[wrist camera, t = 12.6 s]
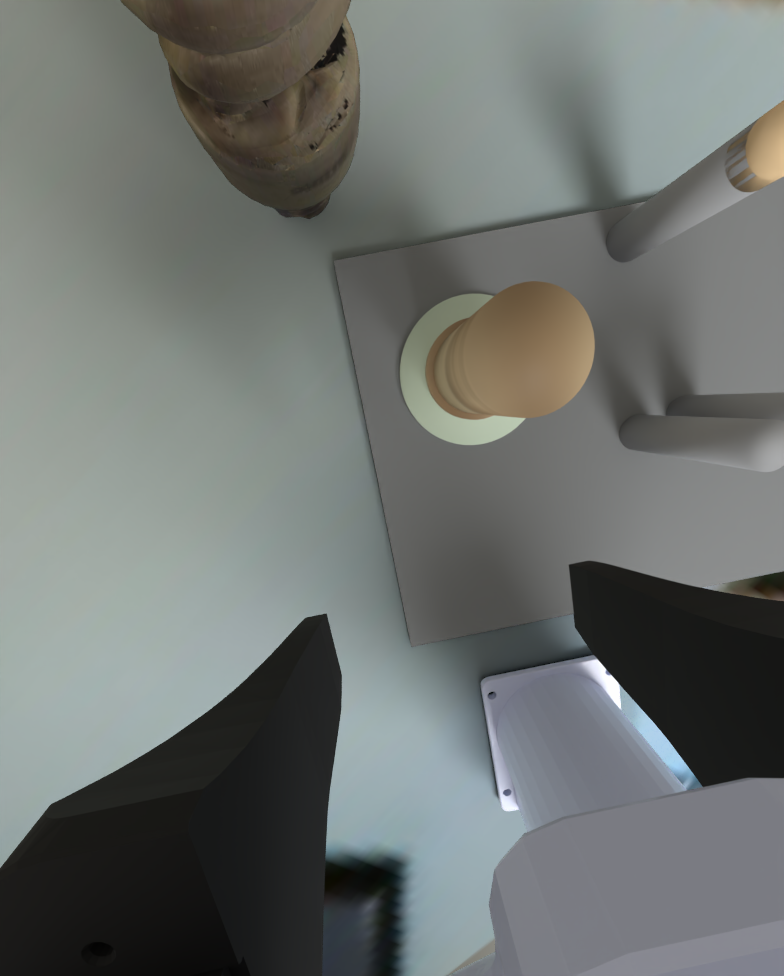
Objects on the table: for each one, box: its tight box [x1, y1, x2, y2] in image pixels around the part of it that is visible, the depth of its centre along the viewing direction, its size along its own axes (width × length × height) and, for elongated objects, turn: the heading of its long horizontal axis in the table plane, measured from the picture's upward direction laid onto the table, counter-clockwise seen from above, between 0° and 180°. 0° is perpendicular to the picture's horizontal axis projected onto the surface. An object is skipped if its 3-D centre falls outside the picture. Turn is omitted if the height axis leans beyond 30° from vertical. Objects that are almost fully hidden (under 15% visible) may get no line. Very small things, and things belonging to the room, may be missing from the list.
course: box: [334, 101, 784, 647], centre depth 17 cm, size 20×27×8 cm
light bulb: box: [121, 0, 360, 219], centre depth 10 cm, size 6×6×15 cm
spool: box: [425, 281, 595, 420], centre depth 16 cm, size 5×5×7 cm
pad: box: [400, 294, 525, 445], centre depth 19 cm, size 7×7×1 cm
